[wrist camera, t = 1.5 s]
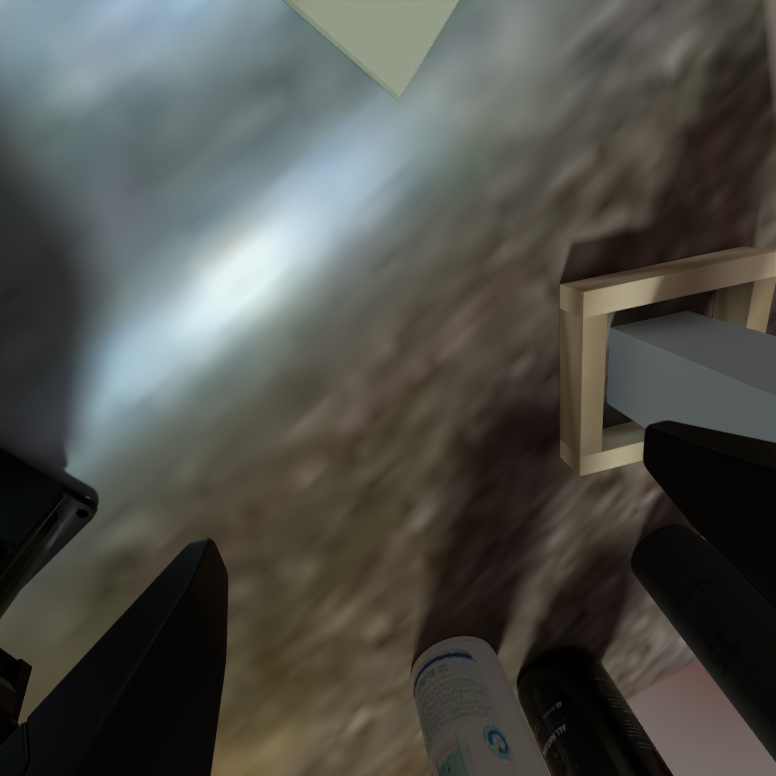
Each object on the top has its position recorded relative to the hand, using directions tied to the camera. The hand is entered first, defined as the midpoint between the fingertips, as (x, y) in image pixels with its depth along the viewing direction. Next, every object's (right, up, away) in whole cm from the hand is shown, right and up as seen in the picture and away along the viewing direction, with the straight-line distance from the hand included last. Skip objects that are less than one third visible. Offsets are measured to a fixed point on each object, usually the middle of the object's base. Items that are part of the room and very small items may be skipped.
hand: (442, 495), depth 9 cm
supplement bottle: (+12, -20, +25) cm, 34 cm away
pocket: (+13, +4, +15) cm, 20 cm away
